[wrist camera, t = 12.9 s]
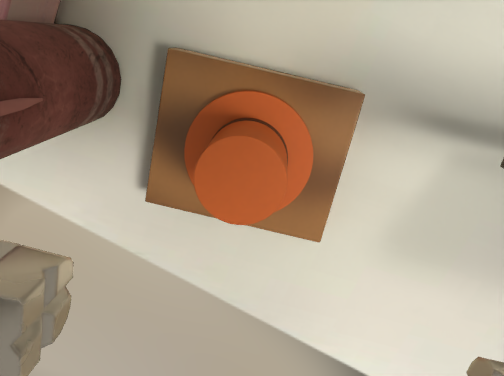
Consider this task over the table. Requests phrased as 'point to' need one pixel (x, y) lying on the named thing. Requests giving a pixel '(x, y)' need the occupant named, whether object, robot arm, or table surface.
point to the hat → (248, 156)
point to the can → (51, 81)
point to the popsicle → (29, 10)
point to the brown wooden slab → (260, 79)
